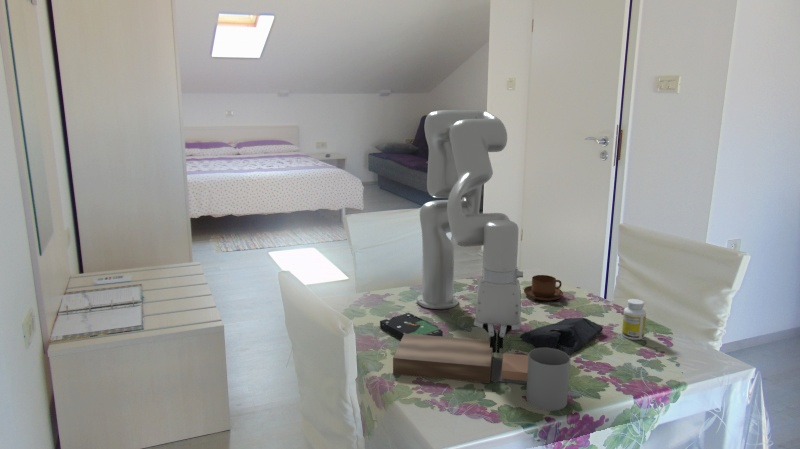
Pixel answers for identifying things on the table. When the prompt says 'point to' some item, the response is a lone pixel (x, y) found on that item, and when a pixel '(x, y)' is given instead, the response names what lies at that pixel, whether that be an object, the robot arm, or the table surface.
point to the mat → (497, 373)
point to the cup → (547, 379)
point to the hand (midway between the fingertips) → (496, 350)
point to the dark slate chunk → (563, 335)
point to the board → (443, 358)
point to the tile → (515, 367)
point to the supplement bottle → (634, 320)
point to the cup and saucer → (544, 288)
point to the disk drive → (409, 326)
